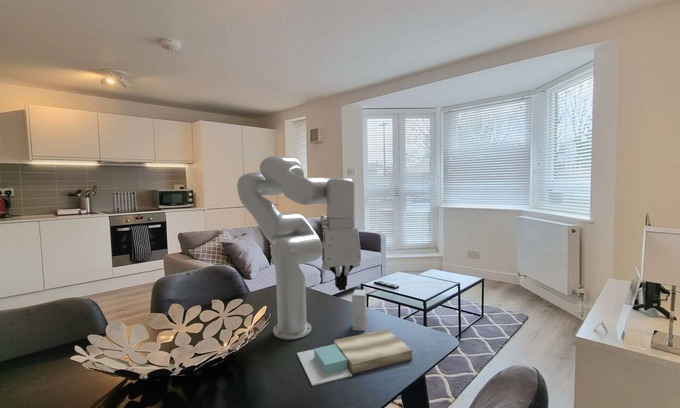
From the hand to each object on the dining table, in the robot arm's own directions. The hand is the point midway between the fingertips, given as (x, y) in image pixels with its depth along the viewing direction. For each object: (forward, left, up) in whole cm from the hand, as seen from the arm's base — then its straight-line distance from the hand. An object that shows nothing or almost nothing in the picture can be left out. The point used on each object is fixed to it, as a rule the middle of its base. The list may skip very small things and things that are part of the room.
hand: (341, 288), depth 90 cm
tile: (+2, -4, -18) cm, 19 cm away
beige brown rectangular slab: (+1, +9, -20) cm, 21 cm away
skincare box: (-16, +13, -20) cm, 28 cm away
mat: (+1, -6, -20) cm, 21 cm away
